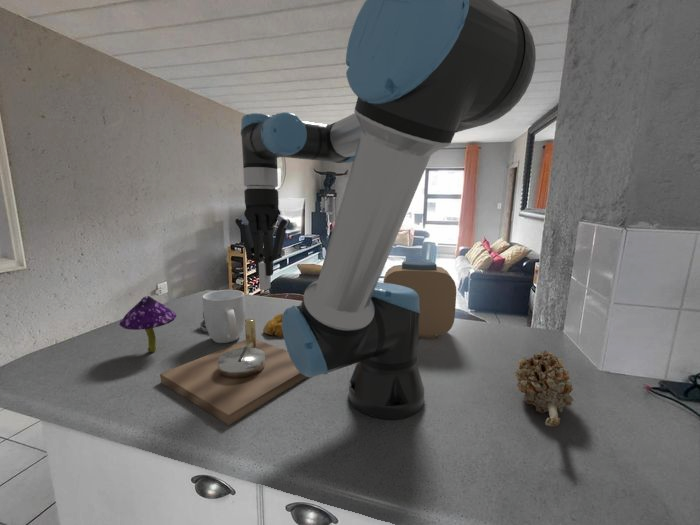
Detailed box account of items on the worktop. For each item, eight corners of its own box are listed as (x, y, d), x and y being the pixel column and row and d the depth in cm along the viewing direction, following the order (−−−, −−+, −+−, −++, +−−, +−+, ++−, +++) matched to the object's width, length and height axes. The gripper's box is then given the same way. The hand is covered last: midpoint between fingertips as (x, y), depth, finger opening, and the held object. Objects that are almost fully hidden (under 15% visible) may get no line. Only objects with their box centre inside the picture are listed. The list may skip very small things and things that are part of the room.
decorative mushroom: (129, 346, 89) (122, 292, 86) (180, 339, 94) (176, 287, 91) (117, 367, 78) (110, 305, 75) (177, 357, 83) (172, 300, 80)
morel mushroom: (508, 381, 73) (512, 338, 72) (557, 389, 70) (563, 345, 69) (526, 449, 53) (532, 393, 51) (597, 465, 50) (606, 405, 48)
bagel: (260, 328, 103) (260, 313, 102) (295, 323, 107) (295, 309, 106) (266, 341, 94) (266, 325, 93) (304, 335, 98) (304, 320, 98)
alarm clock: (448, 328, 104) (452, 261, 100) (453, 341, 94) (458, 266, 91) (382, 324, 106) (384, 258, 103) (380, 336, 97) (382, 264, 93)
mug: (255, 346, 90) (253, 299, 88) (212, 356, 84) (209, 306, 82) (240, 328, 102) (238, 287, 100) (202, 336, 96) (198, 292, 94)
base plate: (318, 370, 77) (318, 360, 77) (229, 425, 58) (228, 413, 57) (251, 344, 91) (250, 336, 90) (161, 382, 71) (160, 372, 71)
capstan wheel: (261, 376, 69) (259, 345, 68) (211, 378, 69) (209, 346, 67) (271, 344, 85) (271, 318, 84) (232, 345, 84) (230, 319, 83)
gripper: (294, 189, 78) (296, 286, 82) (244, 189, 80) (248, 283, 85) (281, 187, 70) (284, 294, 75) (226, 187, 73) (232, 290, 77)
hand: (265, 288), depth 80 cm, fingers closed
